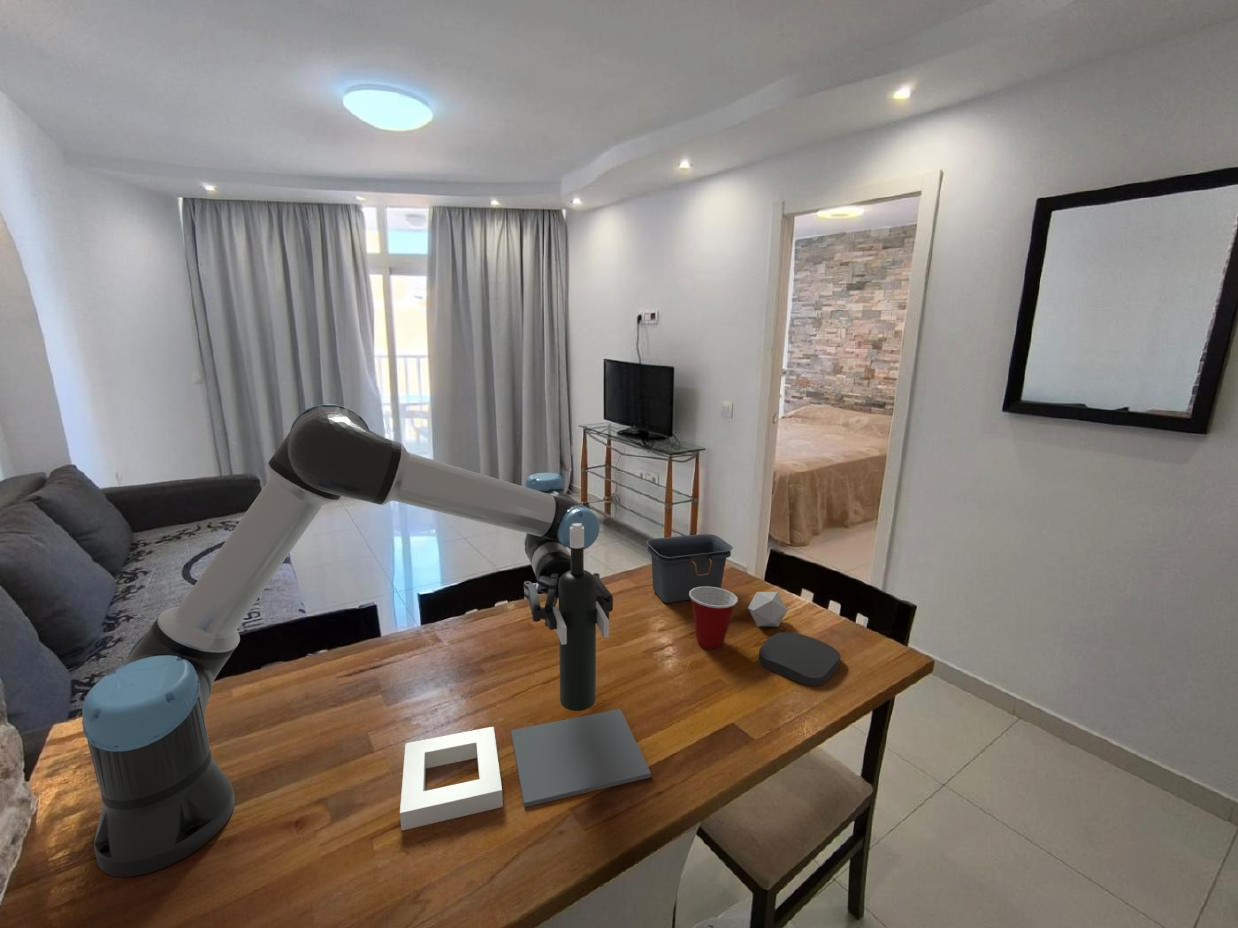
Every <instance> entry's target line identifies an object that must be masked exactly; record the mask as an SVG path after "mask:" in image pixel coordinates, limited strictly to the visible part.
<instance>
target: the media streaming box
mask: <svg viewBox="0 0 1238 928" xmlns="http://www.w3.org/2000/svg"><path fill="white" fill-rule="evenodd" d="M758 662H759V664H760V665H761V666H763V667H764V668H765V669H767V670H769V671H772V672H774V673H775V674H778V675H780V676H783V677H785V678H787V679H789V680H792V681H794V682H797V683H799V684H802V685H805V686H810V687H820V686H823V685H824V684H825V683H826V682H827V681H828V680H829V679H831V677H832V676H833V675H834V673H836V672H837V670H838V668H839V667H840V665H841V653H840V652H839V651H838V650H837V649H836V648H834V646H832V645H830V644H828V643H825V642H824V641H822V640H819V639H816V638H814V637H811V636H808V635H806V634H802V633H798V632H793V631H791V632H790V631H781V632H777V633H775V634H774V635H773V634H772V635H771V636H770V637H769V638H768V639H767V640H765V642H764V643H762V645H761V646H760V647H759V650H758Z"/></svg>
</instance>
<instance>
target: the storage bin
mask: <svg viewBox="0 0 1238 928" xmlns="http://www.w3.org/2000/svg"><path fill="white" fill-rule="evenodd" d="M645 542H646V545H647V548H646V550H647V552H649V553H648V554H651V555H650V556H651V575H652V576H651V577H652V590H653V592H655V594H656V595H657V596H658V597H659V599H660V600H662V602H664V603H666V604H670V603H676V602H684V601H689V600H690V601H691V598H690V596H689V592H690V590H692V589H693V588H697V587H708V586H709V587H717V588H721V589H722V584H723V579H724V573H725V566H726V562H727V558H730V557H731V556H732V555H731V554H732V550H733V549H734V548H733V546H732V545H731V544H729V543H728V542H727V541H726V540H724V539H723V538H721V537H720V536H718V535H716V534H710V533H702V534H700V533H699V534H691V535H689V534H688V535H679V536H678V535H676V536H668V537H657V538H650V539H648V540H646V541H645Z"/></svg>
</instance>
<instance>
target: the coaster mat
mask: <svg viewBox="0 0 1238 928" xmlns="http://www.w3.org/2000/svg"><path fill="white" fill-rule="evenodd" d="M510 736H511V742H512V747H513V753H514V758H515V763H516V770H517V775H518V781H519V786H520V793H521V796H522V797H521V798H522V804H523V808H528V807H531V806H536V805H540V804H544V803H549V802H552V801H558V800H562V799H565V798H569V797H574V796H579V795H582V794H585V793H590V792H594V791H600V790H603V789H608V788H612V787H615V786H616V787H617V786H619V785H620V786H621V785H624V784H628V783H632V782H637V781H641V780H645V779H646V780H647V779H650V778H652V772H651V770H650V768H649V766H648V763H647V762H646V760H645V757H644V755H643V753H642V751H641V749H640V747H639V744H638V743H637V741H636V739H635V736H634V735H633V732H632V730H631V728H630V726H629V724H628V721H627V720H626V718H625V715H624V713H623V711H622V709H621V708H618V709H617V708H616V709H613V710H612V709H611V710H608V711H602V712H601V711H600V712H598V713H592V714H588V715H587V714H586V715H582V716H576V717H572V718H567V719H562V720H557V721H552V722H546V723H540V724H536V725H530V726H526V727H522V728H516V729H511V730H510Z"/></svg>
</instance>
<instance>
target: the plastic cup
mask: <svg viewBox="0 0 1238 928" xmlns="http://www.w3.org/2000/svg"><path fill="white" fill-rule="evenodd" d="M689 596H690V598H691V600H690V601H691V608H692V612H693V614H692V615H693V622H694V630H695V635H696V641H697V644H698V646H699V647H701V648H703V649H706V650H719V649H721V648H722V646H723V644H724V643H725V639H726V634H727V632H728V628H729V624H730V621H731V618H732V614H733V612H734V611H733V610H734V608H735V605H736V604H737V603H738V601H739V598H738V596H736V595H735V593H733V592H732V591H729V590H728V589H725V588H722V587H721V588H717V587H709V586H708V587H697V588H693V589H692V590H690V592H689Z"/></svg>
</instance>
